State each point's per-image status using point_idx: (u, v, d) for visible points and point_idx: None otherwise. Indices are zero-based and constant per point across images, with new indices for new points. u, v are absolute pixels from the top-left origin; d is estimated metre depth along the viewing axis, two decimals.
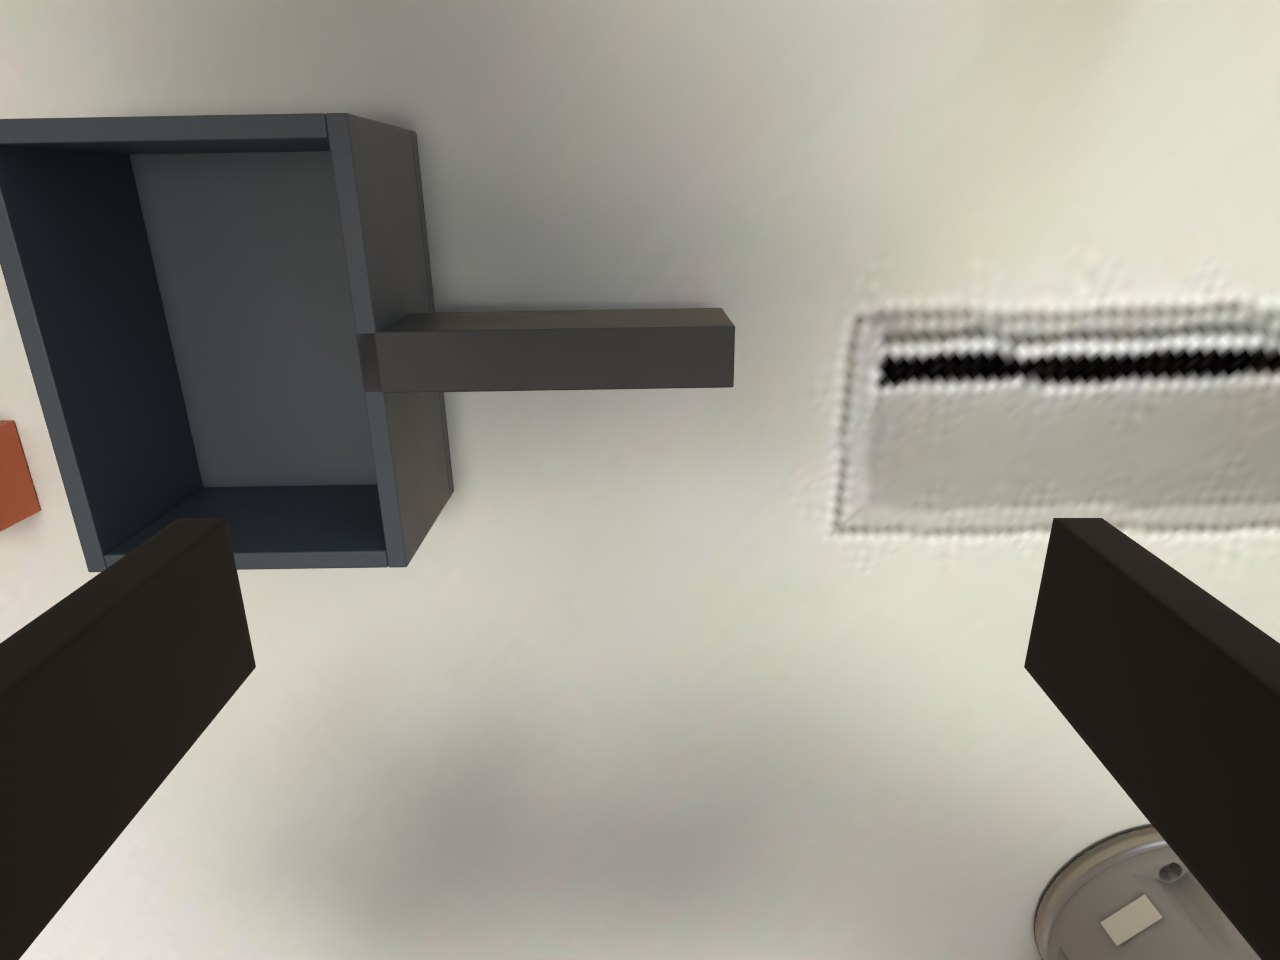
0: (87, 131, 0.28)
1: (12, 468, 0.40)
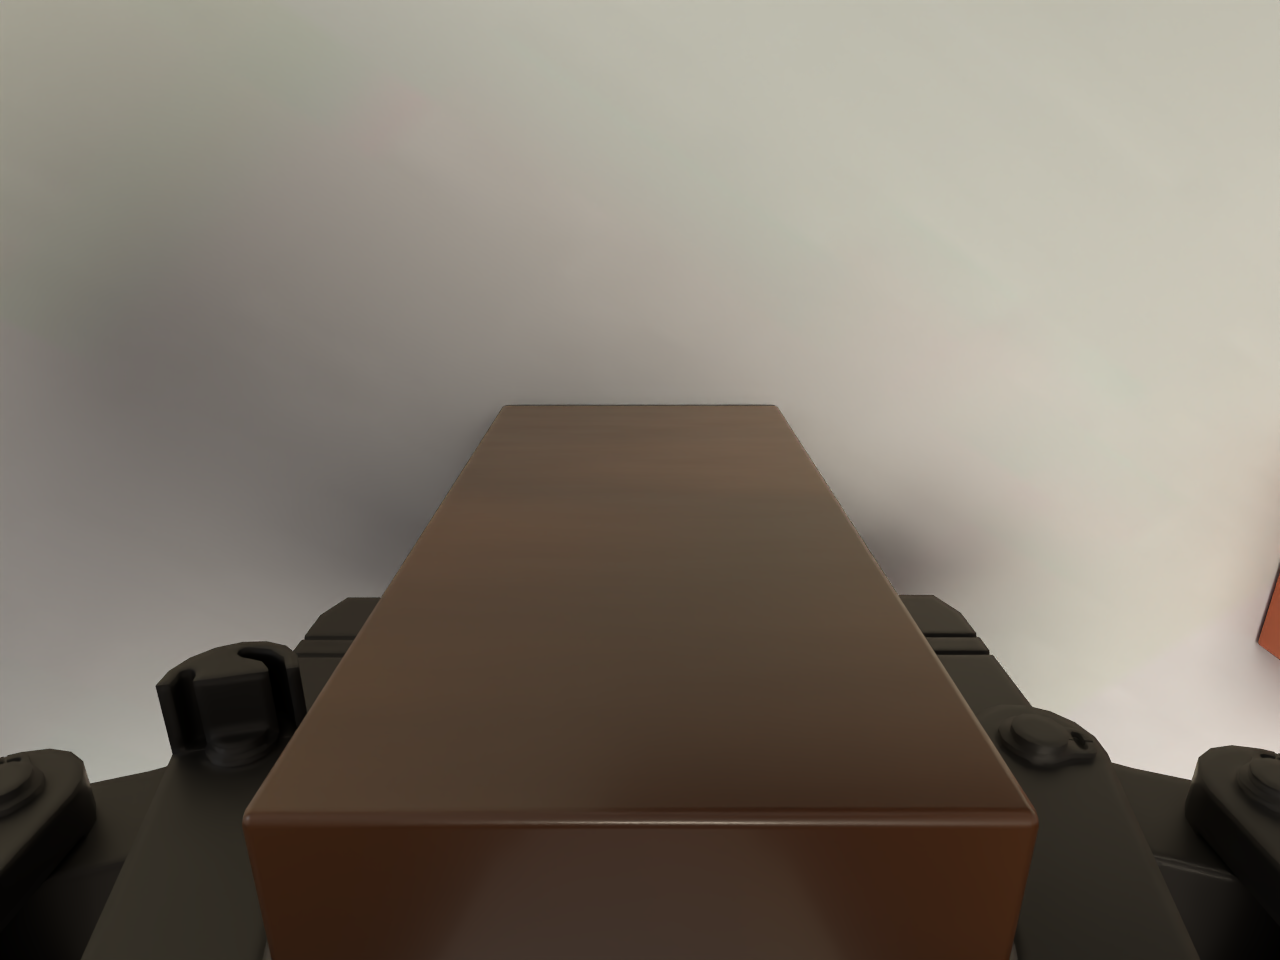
0: None
1: None
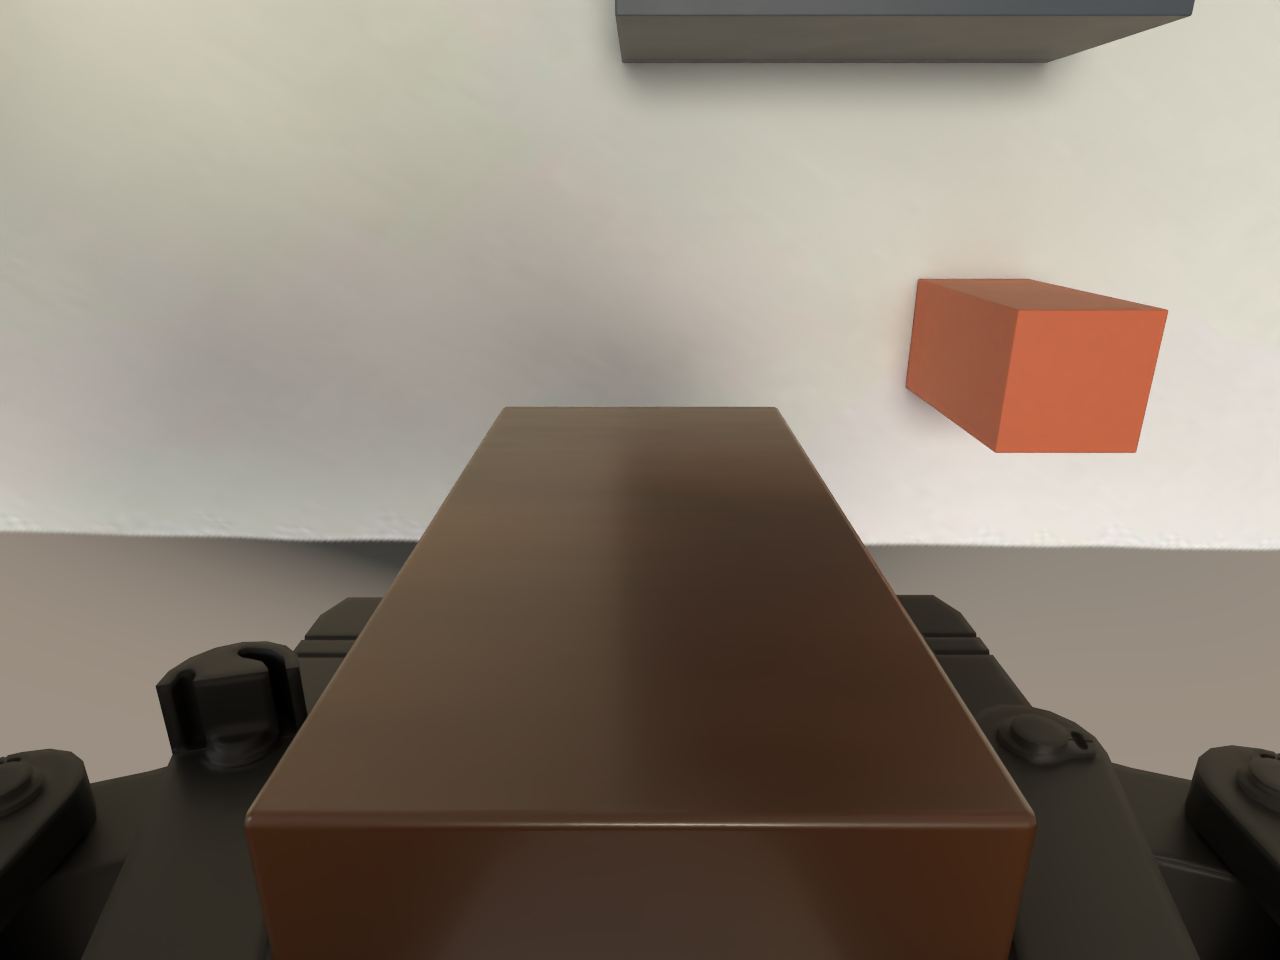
0: None
1: (977, 281, 0.34)
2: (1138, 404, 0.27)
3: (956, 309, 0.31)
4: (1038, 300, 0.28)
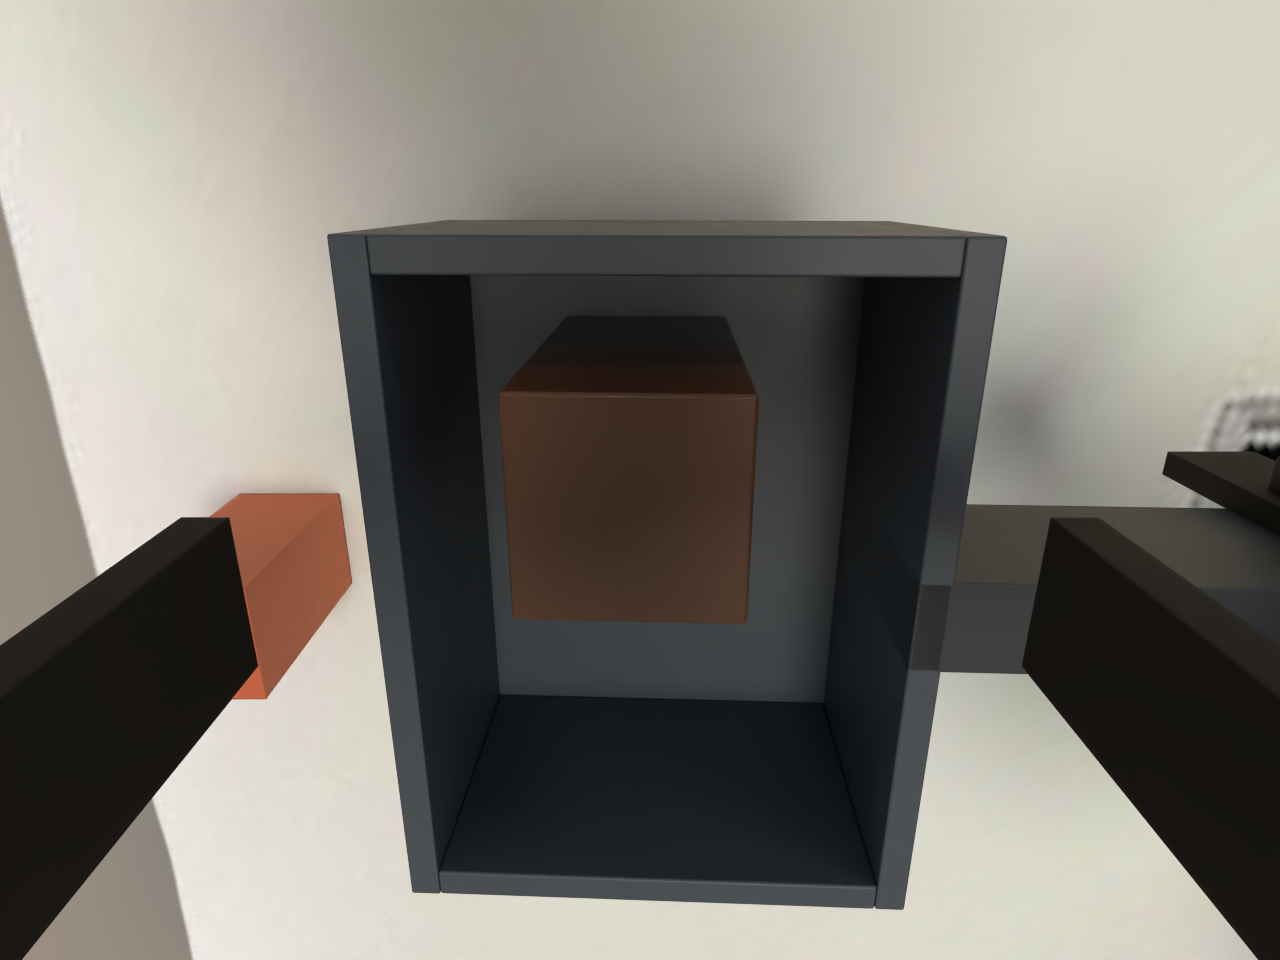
0: (543, 258, 0.16)
1: (338, 543, 0.39)
2: None
3: (284, 533, 0.35)
4: (280, 600, 0.33)
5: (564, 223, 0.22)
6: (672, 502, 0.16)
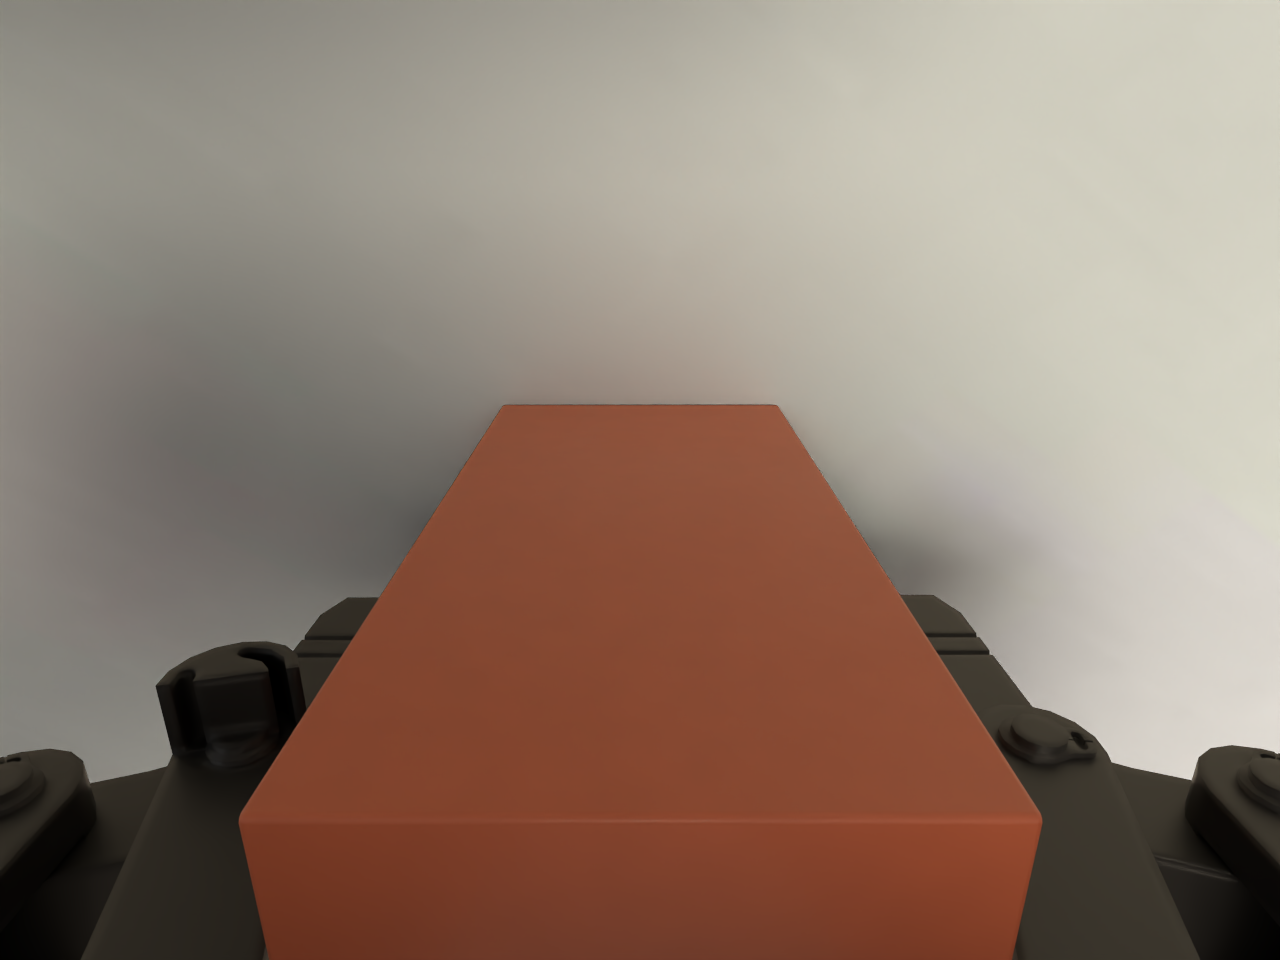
0: None
1: (627, 419, 0.13)
2: None
3: None
4: (566, 615, 0.07)
5: None
6: None
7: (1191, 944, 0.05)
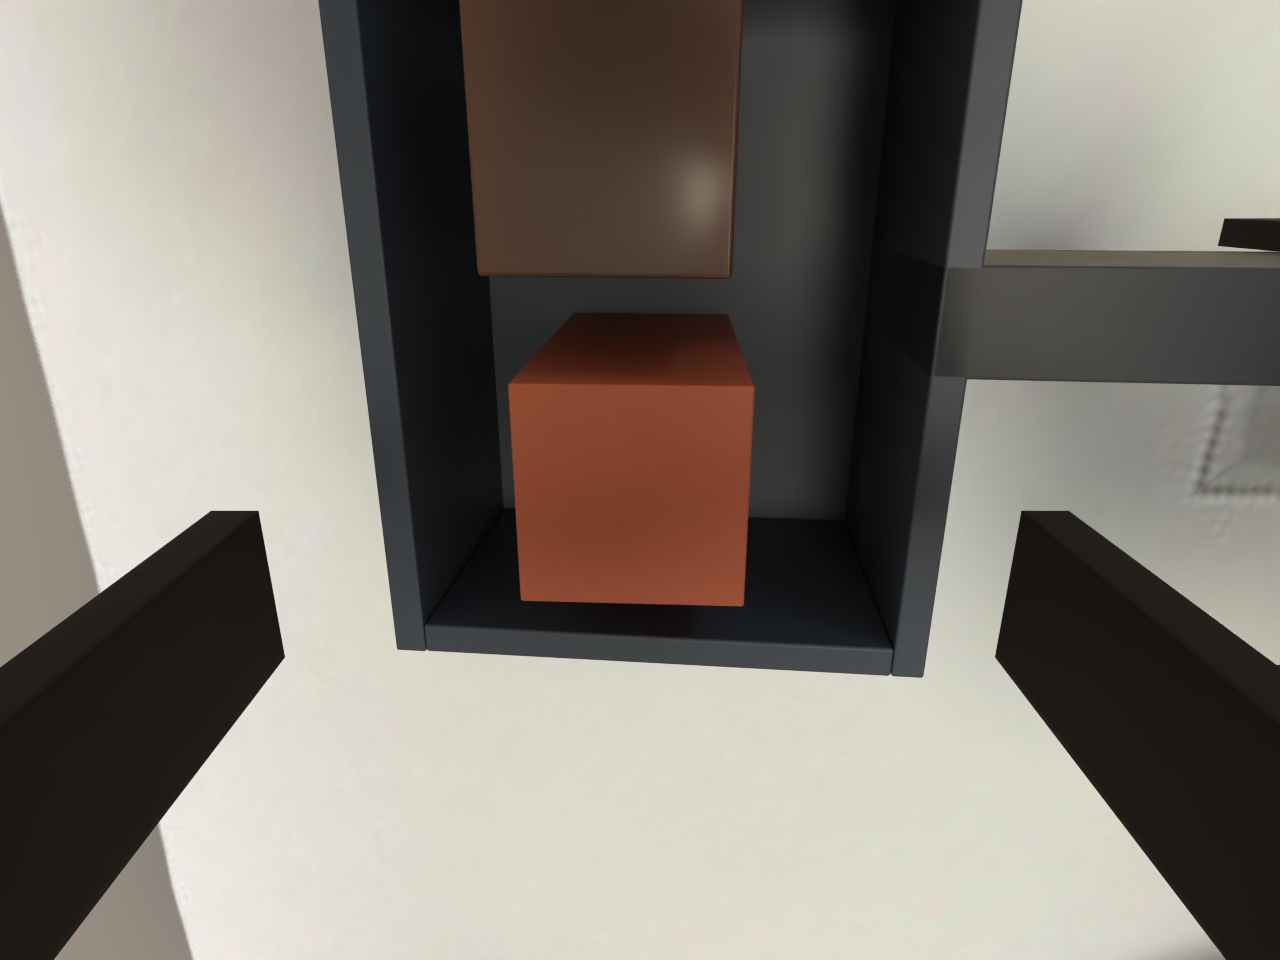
0: None
1: (642, 318, 0.24)
2: (732, 533, 0.17)
3: None
4: (608, 360, 0.18)
5: None
6: (648, 120, 0.14)
7: None
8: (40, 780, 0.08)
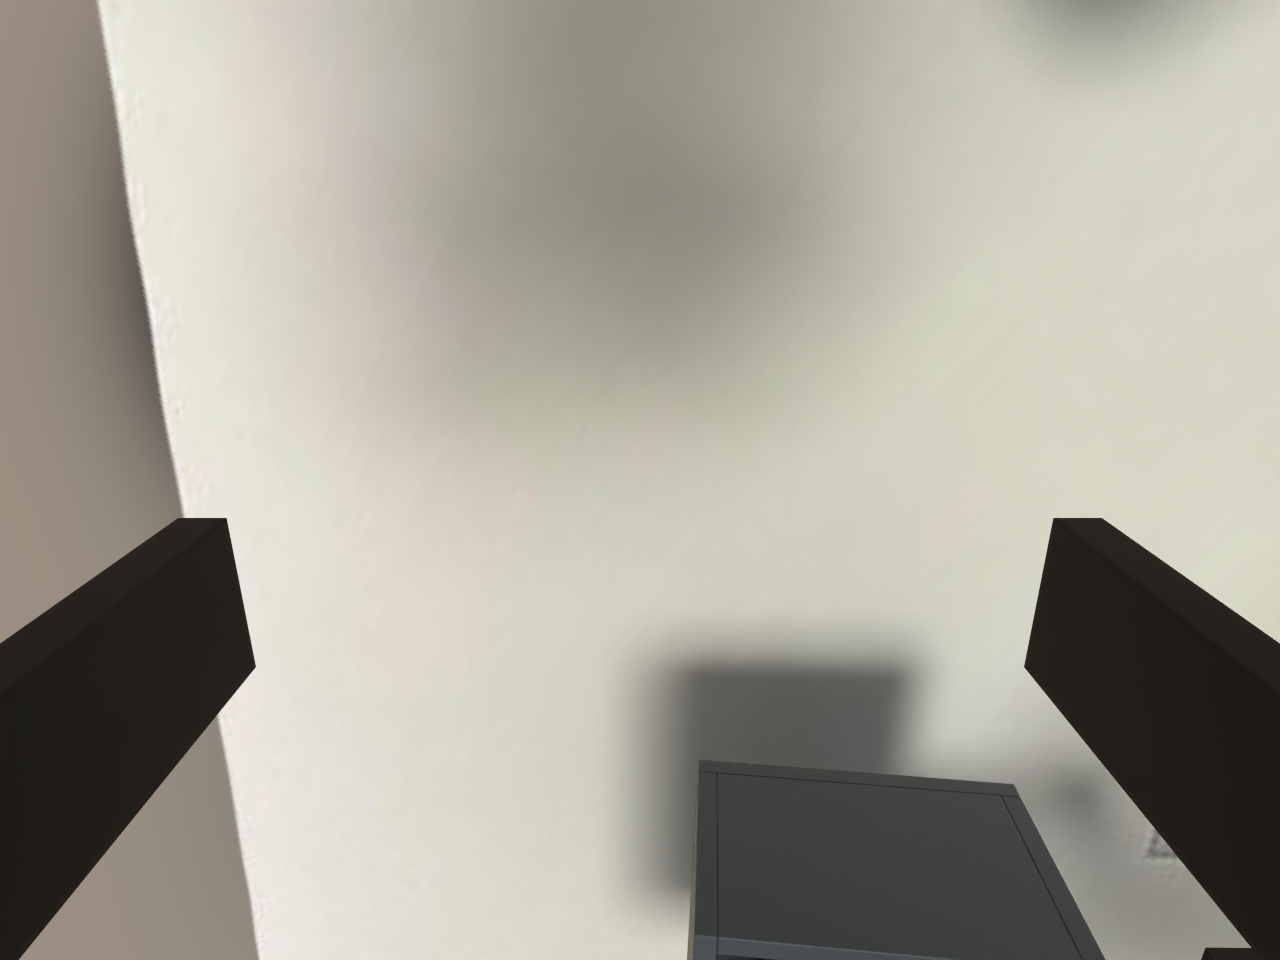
0: (825, 957, 0.26)
1: None
2: None
3: None
4: None
5: (795, 809, 0.32)
6: None
7: None
8: None
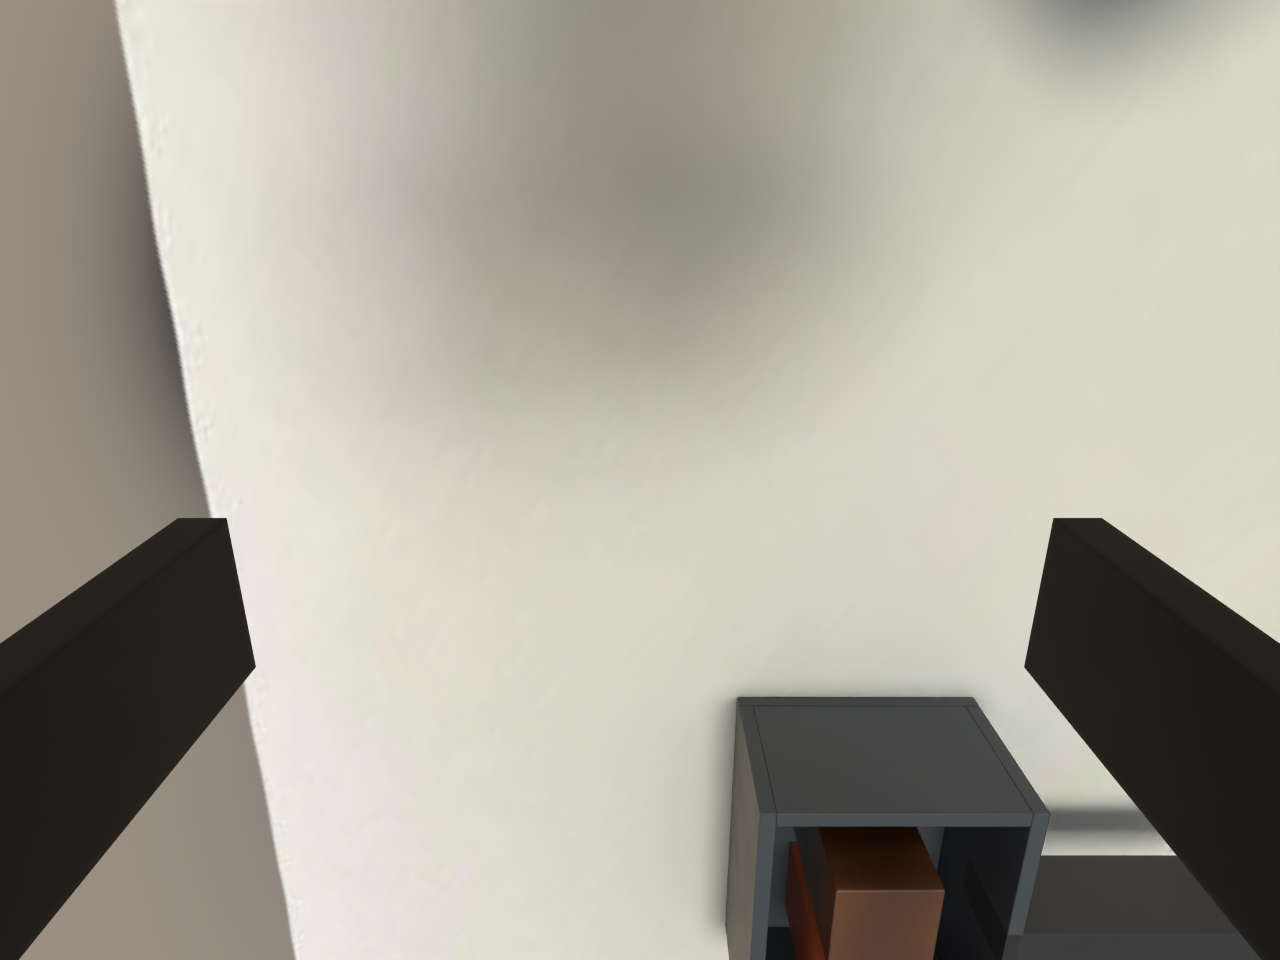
0: (853, 821, 0.37)
1: None
2: None
3: (804, 920, 0.43)
4: None
5: (816, 726, 0.43)
6: (904, 926, 0.37)
7: None
8: None
